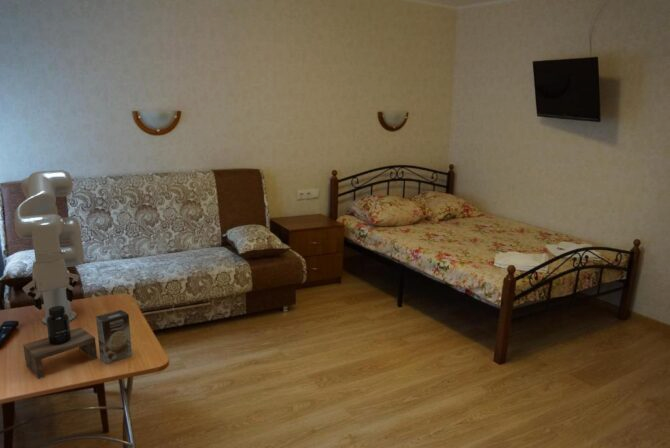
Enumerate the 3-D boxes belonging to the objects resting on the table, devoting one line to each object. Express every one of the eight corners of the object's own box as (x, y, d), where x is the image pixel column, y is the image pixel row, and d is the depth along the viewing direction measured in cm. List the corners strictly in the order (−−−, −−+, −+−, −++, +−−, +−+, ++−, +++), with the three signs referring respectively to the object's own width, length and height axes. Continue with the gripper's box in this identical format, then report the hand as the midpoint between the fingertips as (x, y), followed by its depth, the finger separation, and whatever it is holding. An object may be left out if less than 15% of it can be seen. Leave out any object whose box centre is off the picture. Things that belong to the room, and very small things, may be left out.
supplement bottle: (61, 346, 172) (57, 313, 169) (44, 344, 173) (39, 311, 170) (75, 337, 178) (71, 305, 175) (58, 335, 179) (54, 303, 177)
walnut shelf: (26, 366, 174) (23, 344, 172) (83, 347, 188) (81, 327, 186) (38, 378, 166) (35, 356, 165) (97, 358, 180) (94, 337, 178)
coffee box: (107, 364, 175) (102, 321, 172) (99, 358, 180) (94, 316, 176) (133, 355, 182) (128, 314, 178) (125, 349, 186) (121, 309, 182)
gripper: (71, 248, 177) (76, 294, 181) (15, 260, 164) (22, 308, 169) (79, 253, 172) (85, 300, 176) (23, 265, 160) (30, 315, 164)
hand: (54, 304), depth 173 cm, fingers open, 9 cm apart
